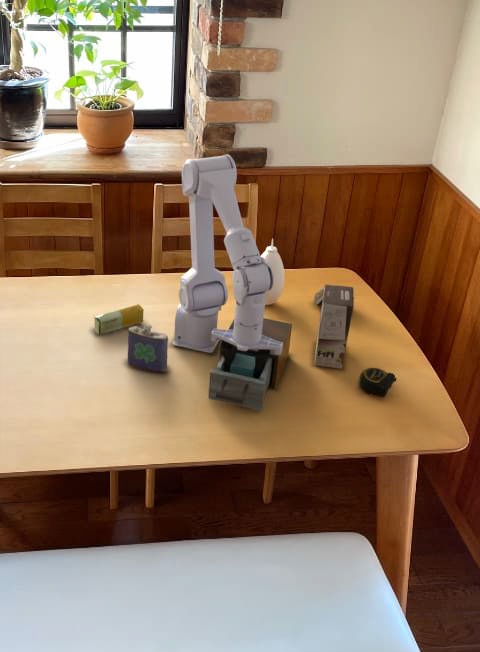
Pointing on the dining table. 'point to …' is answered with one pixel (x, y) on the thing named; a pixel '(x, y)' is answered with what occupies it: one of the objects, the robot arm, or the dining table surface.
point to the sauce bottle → (274, 274)
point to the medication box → (118, 319)
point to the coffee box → (334, 325)
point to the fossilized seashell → (319, 297)
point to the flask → (147, 349)
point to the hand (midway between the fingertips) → (243, 374)
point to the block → (243, 365)
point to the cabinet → (278, 333)
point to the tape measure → (376, 381)
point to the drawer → (240, 385)
